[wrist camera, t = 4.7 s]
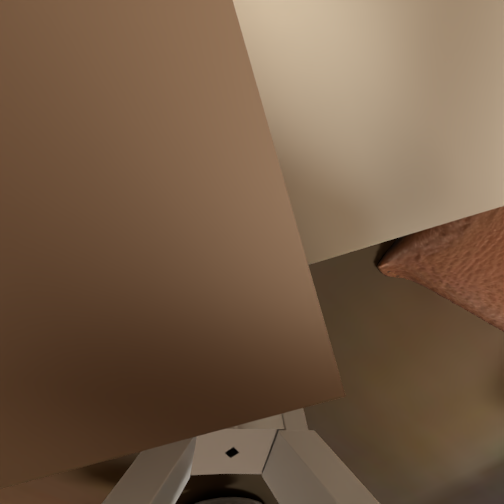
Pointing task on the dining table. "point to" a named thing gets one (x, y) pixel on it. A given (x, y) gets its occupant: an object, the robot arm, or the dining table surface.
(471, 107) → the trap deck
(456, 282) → the sunglasses case
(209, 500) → the pocket watch
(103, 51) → the walnut block
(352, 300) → the dining table surface
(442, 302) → the dining table surface
